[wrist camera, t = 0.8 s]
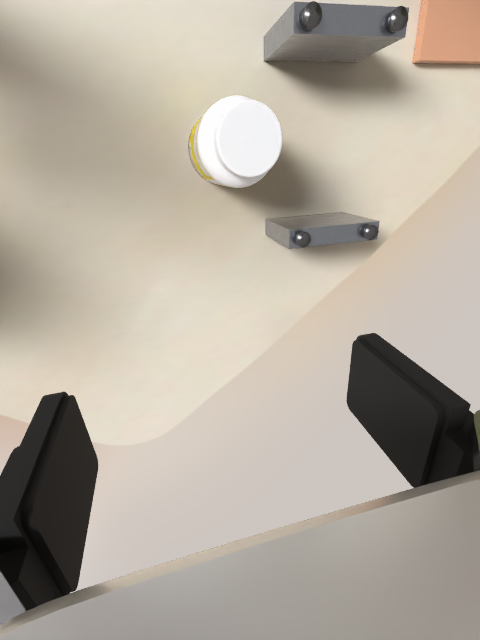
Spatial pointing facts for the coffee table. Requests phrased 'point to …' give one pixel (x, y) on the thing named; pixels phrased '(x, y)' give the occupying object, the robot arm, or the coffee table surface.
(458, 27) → the coaster
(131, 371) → the coffee table surface
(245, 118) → the supplement bottle
